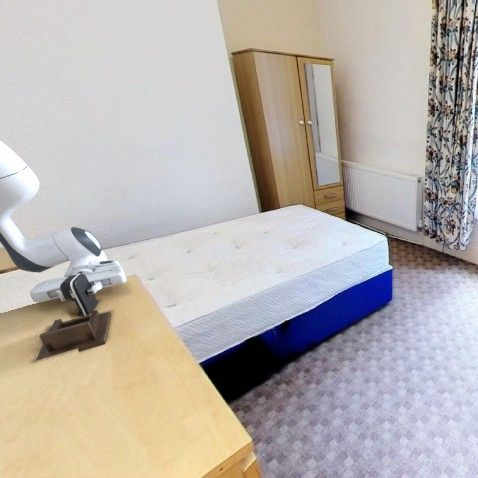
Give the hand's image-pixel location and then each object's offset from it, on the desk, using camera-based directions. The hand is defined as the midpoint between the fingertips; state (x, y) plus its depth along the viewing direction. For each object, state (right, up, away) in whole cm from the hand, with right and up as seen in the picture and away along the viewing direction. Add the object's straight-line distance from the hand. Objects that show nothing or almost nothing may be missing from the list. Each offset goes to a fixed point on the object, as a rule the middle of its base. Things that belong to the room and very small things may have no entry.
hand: (78, 295), depth 93 cm
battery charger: (-1, -5, +3) cm, 6 cm away
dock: (+8, -10, -7) cm, 14 cm away
